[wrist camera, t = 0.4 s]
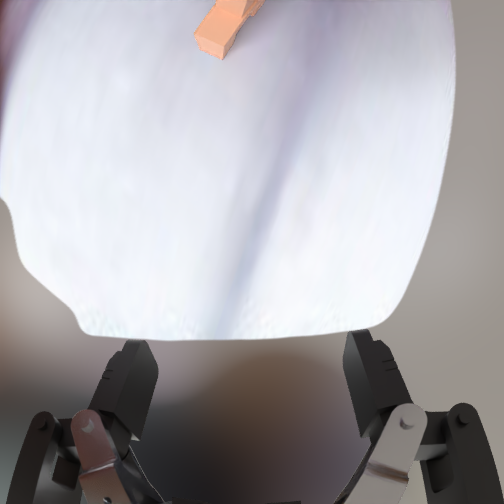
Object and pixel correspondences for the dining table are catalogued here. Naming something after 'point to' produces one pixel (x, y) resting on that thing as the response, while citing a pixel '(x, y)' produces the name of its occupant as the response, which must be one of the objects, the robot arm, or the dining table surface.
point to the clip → (224, 25)
